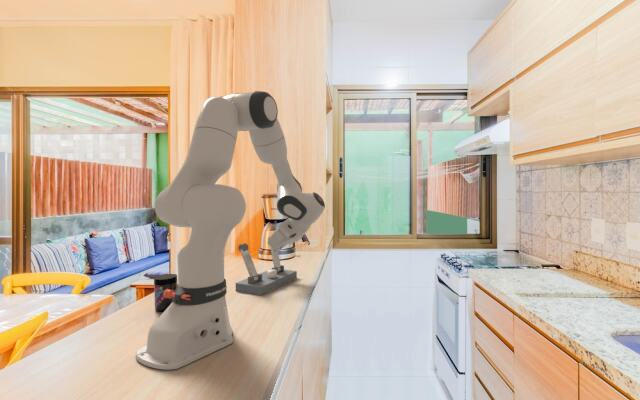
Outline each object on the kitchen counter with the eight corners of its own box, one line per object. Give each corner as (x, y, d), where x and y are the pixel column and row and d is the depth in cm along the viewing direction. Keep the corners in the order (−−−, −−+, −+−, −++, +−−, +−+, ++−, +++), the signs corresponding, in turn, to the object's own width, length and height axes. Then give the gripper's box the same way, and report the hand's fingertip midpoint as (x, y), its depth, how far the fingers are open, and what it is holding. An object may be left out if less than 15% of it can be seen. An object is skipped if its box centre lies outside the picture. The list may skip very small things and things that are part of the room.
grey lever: (256, 281, 117) (241, 243, 119) (250, 283, 118) (236, 246, 121) (261, 278, 120) (247, 241, 122) (255, 281, 121) (241, 244, 123)
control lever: (279, 272, 130) (272, 236, 131) (273, 273, 132) (266, 237, 133) (283, 270, 133) (276, 235, 134) (277, 271, 135) (270, 236, 135)
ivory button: (273, 278, 122) (273, 272, 122) (265, 277, 124) (265, 271, 124) (278, 276, 125) (278, 270, 125) (271, 275, 127) (271, 269, 127)
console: (261, 295, 113) (261, 280, 113) (235, 291, 118) (235, 276, 118) (296, 278, 134) (296, 265, 134) (273, 275, 140) (273, 262, 140)
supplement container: (158, 306, 104) (157, 274, 104) (180, 304, 106) (179, 273, 105) (151, 313, 98) (150, 280, 97) (175, 311, 99) (174, 278, 99)
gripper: (304, 218, 138) (286, 240, 143) (276, 224, 120) (257, 248, 125) (313, 229, 136) (295, 250, 141) (287, 236, 118) (266, 260, 123)
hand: (277, 249), depth 133 cm, fingers closed, pressing on control lever
